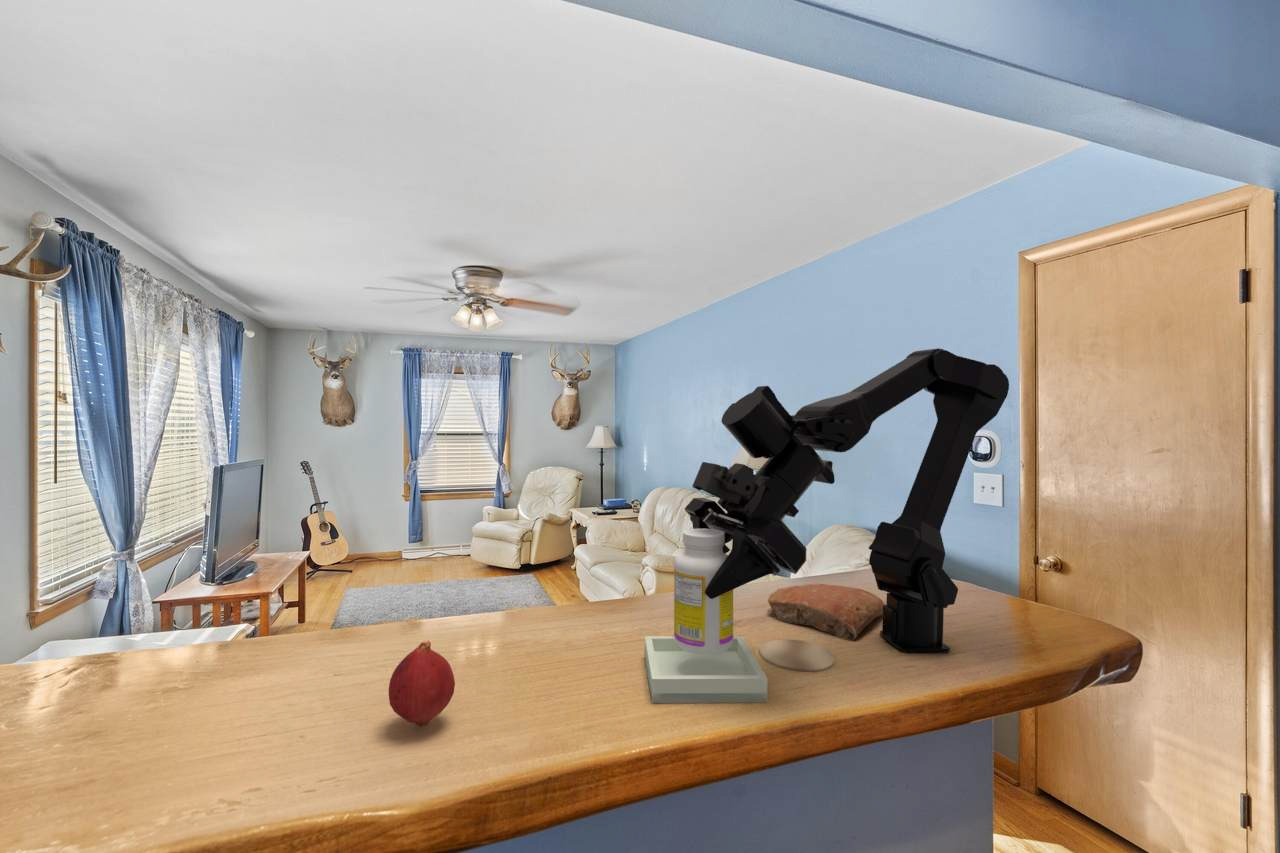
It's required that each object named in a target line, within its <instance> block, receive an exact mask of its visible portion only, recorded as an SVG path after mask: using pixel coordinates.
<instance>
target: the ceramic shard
mask: <svg viewBox="0 0 1280 853" xmlns="http://www.w3.org/2000/svg"><path fill="white" fill-rule="evenodd" d="M767 603H768V604H769V606H770V608H771V610H772V612H774V613H775V615H776V617H777V620H778V621H780V622H783V623H790V624H797V625H805V626H812V627H814V628H816V629H817V630H819V631H822V632H825V633H828V634H831V635H834V636H836V637H839V638H842V639H844V640H848V641H855V639H857V637H858V636H859V635H860V633H861V632H862V631H863V630H864V629H865V628H866V627H867V626H868V625H869V624H870V623H871V622H873V620H874V619H876V618H877V617H881V616H883V606H884V605H886V603H885V602H884V601H883V599H881V598H880V597H879V596H877V595H876V594H874V593H872V592H870V591H867V590H864V589H862V588H858V587H852V586H851V587H850V586H845V585H837V584H836V585H835V584H825V583H816V584H815V583H814V584H813V583H812V584H803V585H793V586H792V585H791V586H788V587H781V588H778V589H776V591H774V592H772V593H771V594H770V595H769V596H768V598H767Z"/></svg>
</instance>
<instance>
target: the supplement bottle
mask: <svg viewBox="0 0 1280 853" xmlns="http://www.w3.org/2000/svg"><path fill="white" fill-rule="evenodd" d="M682 543H683V546H684V551H683V552H681V553H680V554H678V555H676V558H675V559H674V565H673V568H674V569H673V582H674V583H673V584H674V585H673V586H674V588H673V591H674V592H673V594H674V595H673V597H674V598H673V600H674V601H673V604H674V605H673V606H674V607H673V608H674V610H673V614H674V615H673V617H674V618H673V622H674V623H673V629H674V630H673V636H674V639H675V643H676V644H677V645H678V646H679V647H680V648H681V649H683V650H685V651H687V652H690V653H695V654H717V653H721V652H724V651H726V650H728V649H729V648H730V647H731V646H732V643H733V636H734V589H733V590H731V591H729V592H726V593H724V594H722V595H720V596H718V597H716V598H713V599H710V598H709V597H708V596H707V595H706V594H705V590H706V588H707V586H708V585H709V583H710V581H711V580H712V578H713V577H714V575H715V574H716V572H717V571H718V570H719V568H720V567H721V565H722V564H723V562H724V561H725V559H726V558H727V556H728V555H729V554H727V553H726V554H725V553H723V548H722V547H723V546H724V543H725V535H724V532H722V531H719V530H715V529H693V528H691V529H686V530H684V531H683V532H682Z"/></svg>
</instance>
